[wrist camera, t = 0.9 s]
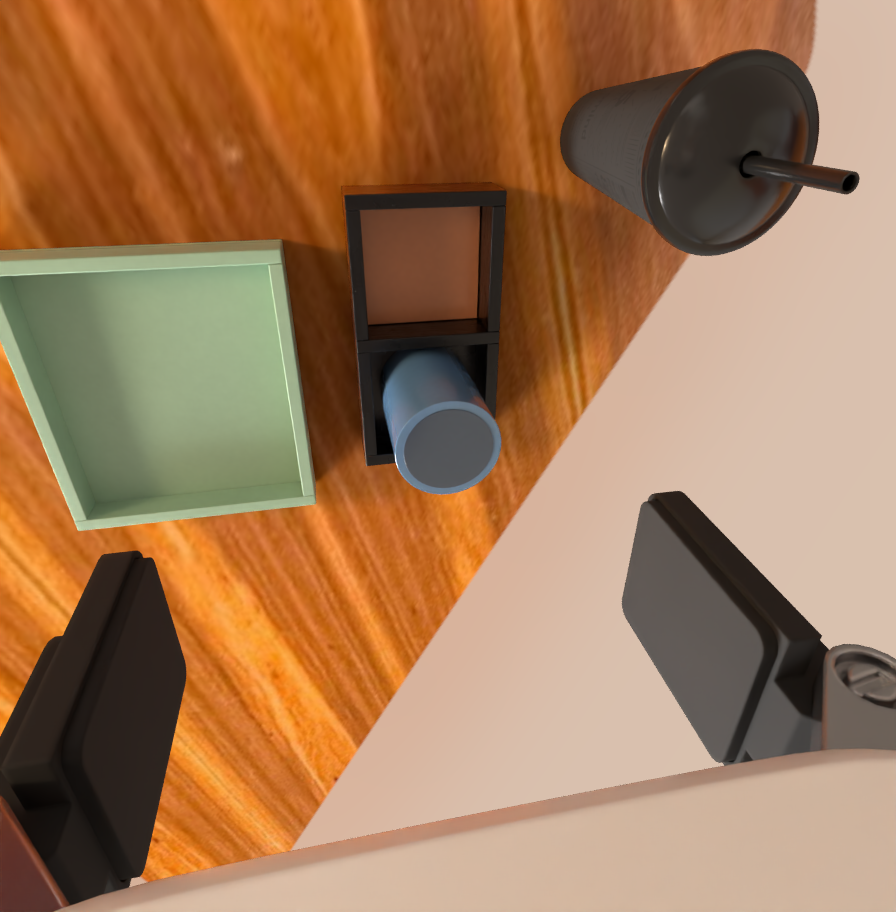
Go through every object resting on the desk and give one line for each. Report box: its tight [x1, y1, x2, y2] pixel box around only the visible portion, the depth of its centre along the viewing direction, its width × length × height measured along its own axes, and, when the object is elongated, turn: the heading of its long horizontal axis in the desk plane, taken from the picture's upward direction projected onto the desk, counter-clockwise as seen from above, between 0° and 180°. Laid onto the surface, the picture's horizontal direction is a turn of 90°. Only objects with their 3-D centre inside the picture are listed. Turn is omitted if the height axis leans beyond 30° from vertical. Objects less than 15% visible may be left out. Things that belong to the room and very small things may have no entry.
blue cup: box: [379, 347, 501, 494], centre depth 38 cm, size 6×6×9 cm
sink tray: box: [0, 239, 316, 531], centre depth 38 cm, size 18×16×3 cm
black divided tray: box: [341, 182, 507, 466], centre depth 39 cm, size 17×9×3 cm, turn 0°
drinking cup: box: [560, 49, 859, 256], centre depth 28 cm, size 8×8×20 cm
